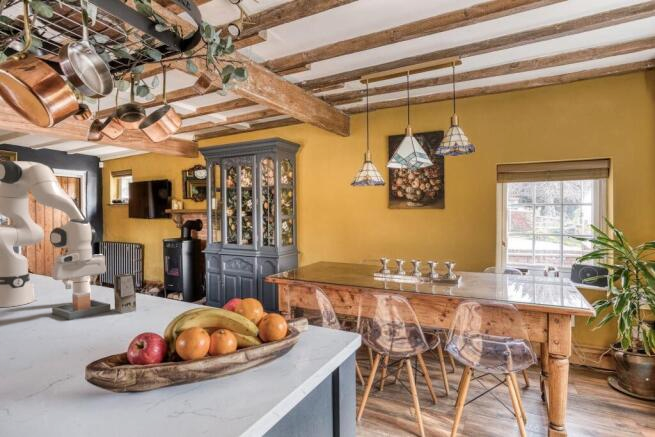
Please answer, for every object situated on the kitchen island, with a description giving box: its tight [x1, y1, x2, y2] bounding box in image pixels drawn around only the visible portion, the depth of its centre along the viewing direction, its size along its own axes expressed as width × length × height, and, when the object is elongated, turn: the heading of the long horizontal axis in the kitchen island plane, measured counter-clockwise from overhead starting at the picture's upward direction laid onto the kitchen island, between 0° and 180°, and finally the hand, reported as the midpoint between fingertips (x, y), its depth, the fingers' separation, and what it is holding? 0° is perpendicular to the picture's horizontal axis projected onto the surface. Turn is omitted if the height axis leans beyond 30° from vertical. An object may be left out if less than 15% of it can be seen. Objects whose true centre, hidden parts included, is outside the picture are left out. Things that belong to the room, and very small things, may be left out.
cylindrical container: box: [72, 276, 92, 300], centre depth 175 cm, size 7×7×25 cm
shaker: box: [71, 292, 91, 312], centre depth 159 cm, size 5×5×8 cm
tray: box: [51, 299, 111, 321], centre depth 159 cm, size 17×16×3 cm
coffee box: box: [113, 272, 137, 314], centre depth 162 cm, size 9×6×16 cm
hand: (80, 286), depth 159 cm, fingers open, 8 cm apart
